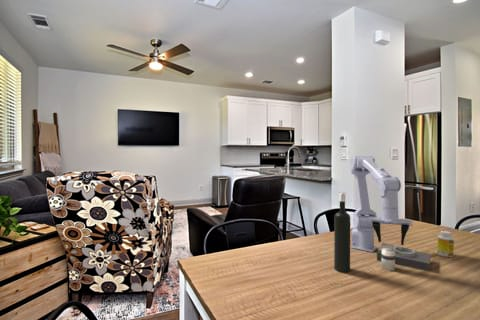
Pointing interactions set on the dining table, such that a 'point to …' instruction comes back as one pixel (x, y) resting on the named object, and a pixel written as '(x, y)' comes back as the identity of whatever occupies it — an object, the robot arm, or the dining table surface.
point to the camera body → (409, 258)
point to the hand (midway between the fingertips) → (390, 242)
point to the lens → (388, 259)
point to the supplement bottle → (445, 244)
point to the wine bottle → (342, 238)
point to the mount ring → (410, 254)
